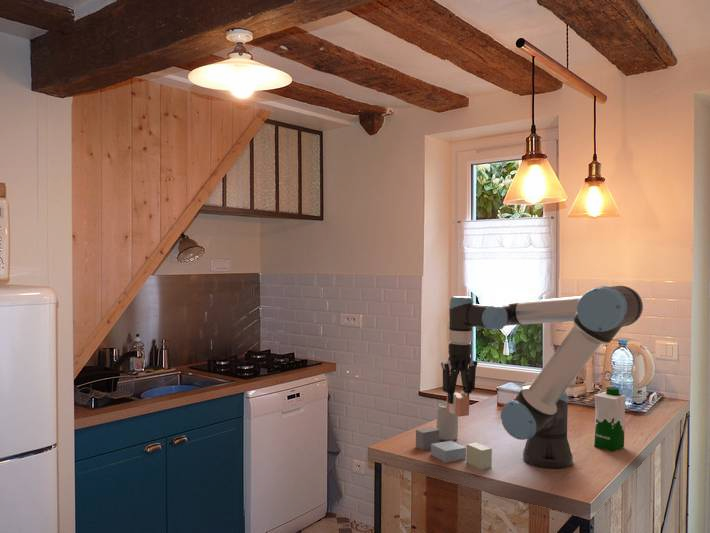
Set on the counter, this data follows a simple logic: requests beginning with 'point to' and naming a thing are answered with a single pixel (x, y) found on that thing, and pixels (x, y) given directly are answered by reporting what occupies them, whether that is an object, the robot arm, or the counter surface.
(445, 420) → the can
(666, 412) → the counter surface
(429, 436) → the charcoal brick
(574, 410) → the counter surface
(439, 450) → the slate blue brick
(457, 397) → the terracotta brick
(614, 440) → the milk carton
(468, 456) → the sage brick
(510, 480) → the counter surface
